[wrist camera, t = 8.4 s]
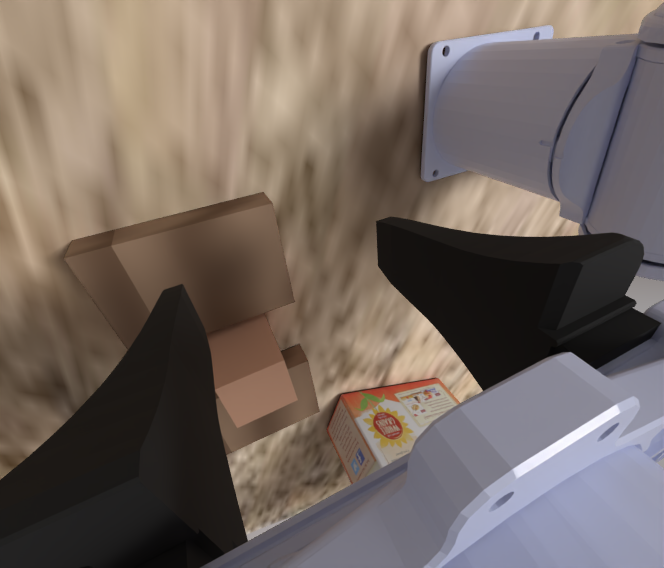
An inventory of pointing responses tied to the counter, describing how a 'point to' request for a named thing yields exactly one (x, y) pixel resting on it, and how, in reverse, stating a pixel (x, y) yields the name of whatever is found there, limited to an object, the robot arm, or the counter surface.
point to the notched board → (200, 285)
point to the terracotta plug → (249, 370)
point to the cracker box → (384, 423)
